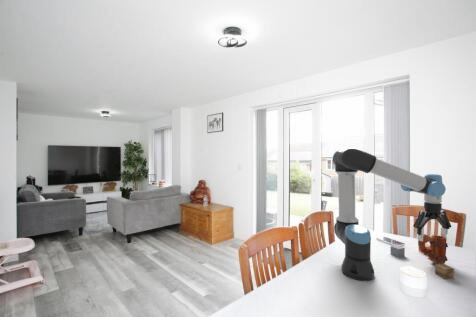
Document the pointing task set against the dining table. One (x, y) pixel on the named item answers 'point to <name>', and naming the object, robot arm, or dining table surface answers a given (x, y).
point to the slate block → (397, 251)
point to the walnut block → (444, 271)
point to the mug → (434, 248)
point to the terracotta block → (426, 248)
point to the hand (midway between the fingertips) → (432, 240)
